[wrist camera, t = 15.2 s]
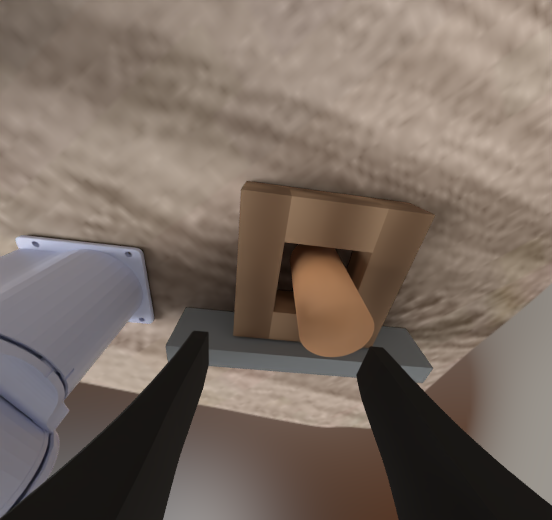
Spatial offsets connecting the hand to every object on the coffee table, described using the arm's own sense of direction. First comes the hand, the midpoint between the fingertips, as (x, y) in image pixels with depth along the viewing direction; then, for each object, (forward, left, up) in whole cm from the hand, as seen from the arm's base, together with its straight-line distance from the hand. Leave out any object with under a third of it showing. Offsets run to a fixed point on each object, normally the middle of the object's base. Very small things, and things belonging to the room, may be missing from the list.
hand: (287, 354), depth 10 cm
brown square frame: (+3, 0, -10) cm, 10 cm away
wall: (+3, -8, -10) cm, 13 cm away
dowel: (+3, 0, -10) cm, 10 cm away
